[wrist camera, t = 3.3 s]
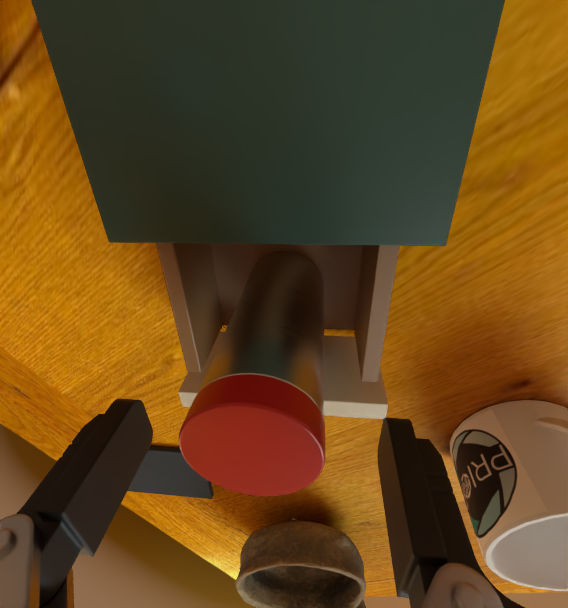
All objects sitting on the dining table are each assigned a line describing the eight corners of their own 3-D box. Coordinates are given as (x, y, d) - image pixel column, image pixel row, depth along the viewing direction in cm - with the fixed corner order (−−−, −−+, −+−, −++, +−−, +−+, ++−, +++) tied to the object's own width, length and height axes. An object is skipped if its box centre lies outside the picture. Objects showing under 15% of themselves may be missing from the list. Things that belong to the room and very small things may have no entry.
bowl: (305, 481, 33) (298, 611, 24) (404, 552, 38) (428, 679, 30) (219, 518, 39) (190, 634, 30) (316, 576, 44) (315, 687, 36)
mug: (565, 479, 28) (642, 597, 22) (438, 476, 30) (472, 585, 23) (624, 362, 22) (763, 479, 15) (456, 367, 23) (511, 475, 17)
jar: (251, 316, 21) (191, 490, 11) (245, 249, 18) (163, 399, 9) (323, 318, 20) (322, 503, 11) (326, 250, 18) (328, 409, 8)
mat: (128, 486, 37) (126, 491, 37) (107, 442, 33) (104, 446, 32) (213, 494, 36) (212, 499, 36) (202, 449, 32) (200, 454, 31)
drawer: (370, 364, 23) (382, 434, 18) (213, 356, 24) (185, 420, 19) (400, 152, 16) (434, 172, 11) (177, 156, 17) (118, 176, 12)
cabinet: (401, 196, 18) (446, 246, 11) (181, 197, 19) (108, 243, 13) (466, -224, 11) (681, -723, 4) (111, -177, 12) (-133, -503, 6)
